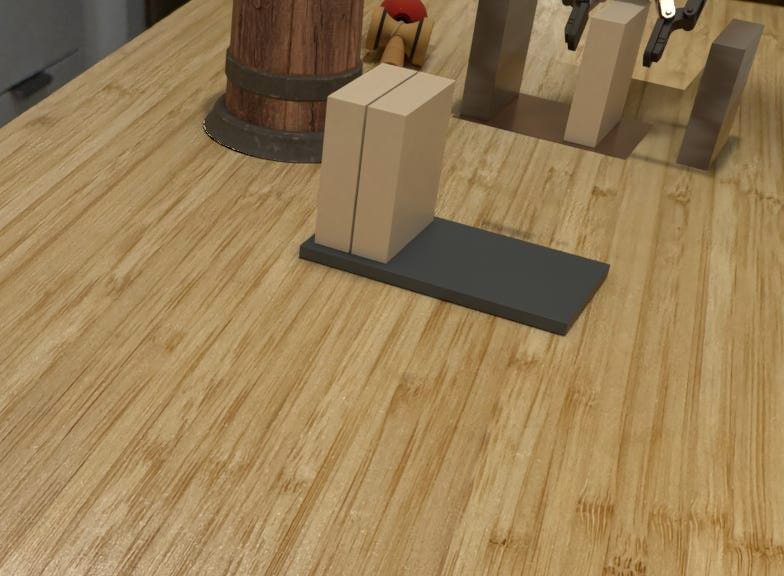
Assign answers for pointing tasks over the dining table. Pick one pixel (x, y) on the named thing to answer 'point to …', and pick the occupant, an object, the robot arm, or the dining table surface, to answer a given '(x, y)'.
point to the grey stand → (549, 118)
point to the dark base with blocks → (426, 210)
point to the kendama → (400, 31)
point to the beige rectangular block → (606, 70)
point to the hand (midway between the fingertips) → (608, 53)
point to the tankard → (285, 75)
